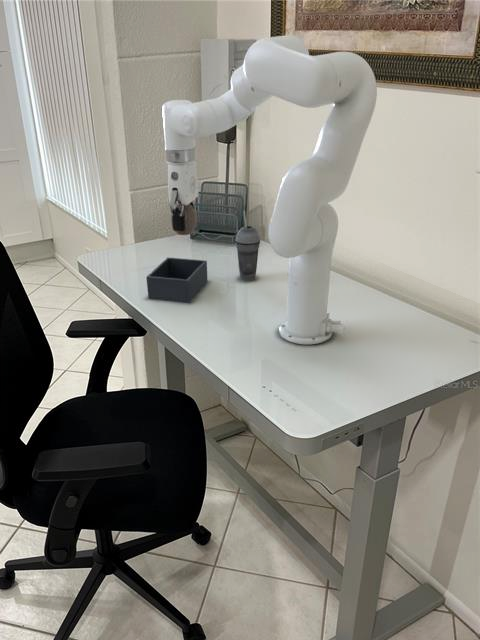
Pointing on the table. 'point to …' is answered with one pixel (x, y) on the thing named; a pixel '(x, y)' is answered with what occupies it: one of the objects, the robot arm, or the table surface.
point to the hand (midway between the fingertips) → (184, 225)
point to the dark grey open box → (177, 280)
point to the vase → (188, 219)
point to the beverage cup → (247, 251)
